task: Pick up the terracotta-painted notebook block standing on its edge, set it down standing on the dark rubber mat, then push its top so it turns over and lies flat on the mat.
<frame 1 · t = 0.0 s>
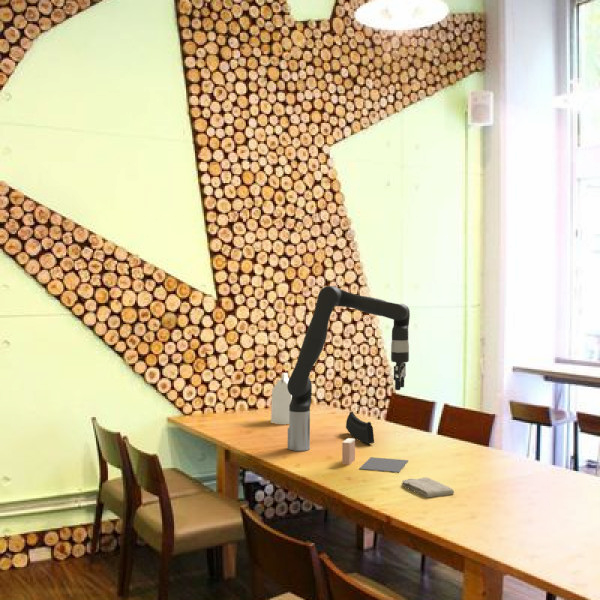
hand: (399, 388, 313), 29 cm above the table, tool pointing down, fingers open, 8 cm apart
notebook: (348, 462, 304), on the table
milk: (284, 422, 392), on the table
magazine: (359, 439, 350), on the table
washcloth: (426, 491, 264), on the table
mat: (384, 465, 299), on the table
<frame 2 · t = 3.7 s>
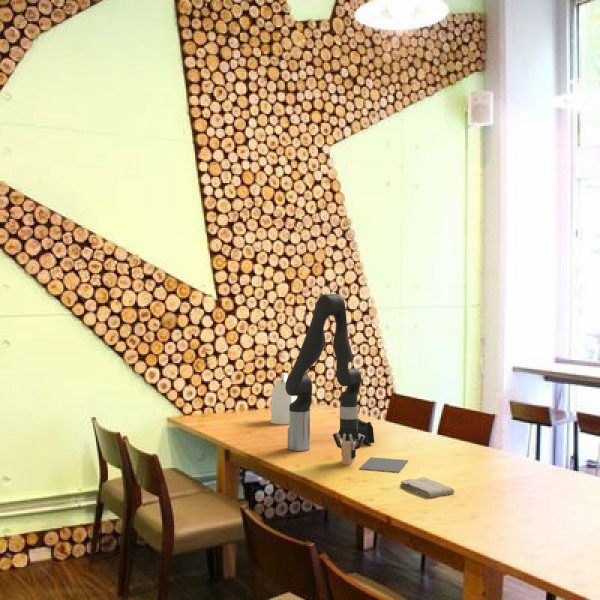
hand: (348, 458, 304), 2 cm above the table, tool pointing down, fingers closed on notebook, 3 cm apart
notebook: (348, 462, 304), on the table, touching gripper
everything else where it was.
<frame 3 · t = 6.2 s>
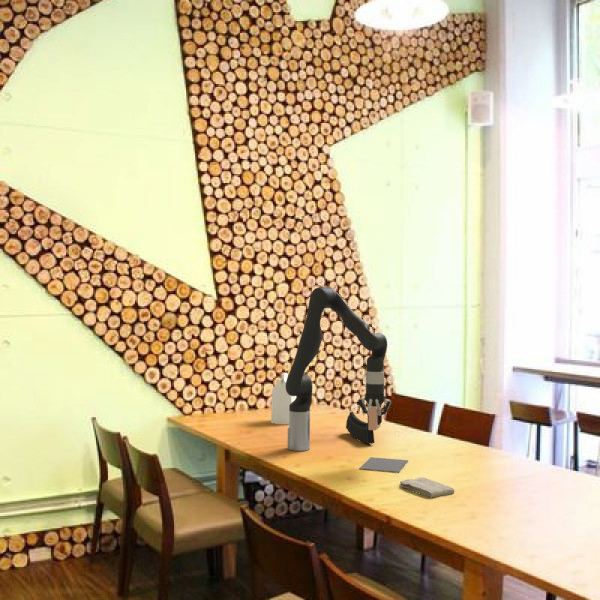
hand: (374, 424, 300), 17 cm above the table, tool pointing down, fingers closed on notebook, 3 cm apart
notebook: (374, 428, 300), point 15 cm above the table, touching gripper
everything else where it was.
when the fingers open (3 cm above the table, at t = 8.9 s): notebook stays where it is, resting on mat.
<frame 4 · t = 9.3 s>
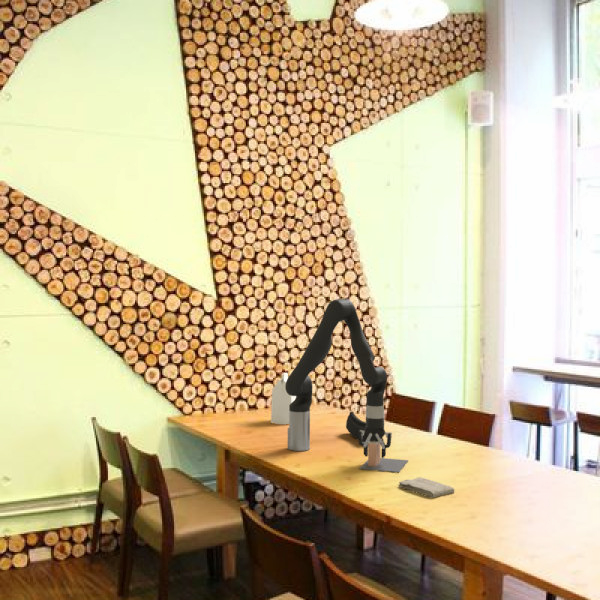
hand: (374, 456, 300), 3 cm above the table, tool pointing down, fingers open, 6 cm apart
notebook: (374, 463, 300), resting on mat
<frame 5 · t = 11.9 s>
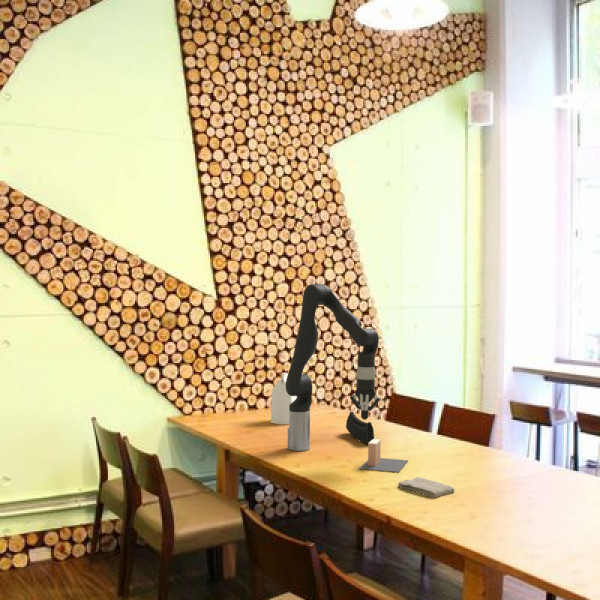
hand: (364, 419, 302), 18 cm above the table, tool pointing down, fingers closed
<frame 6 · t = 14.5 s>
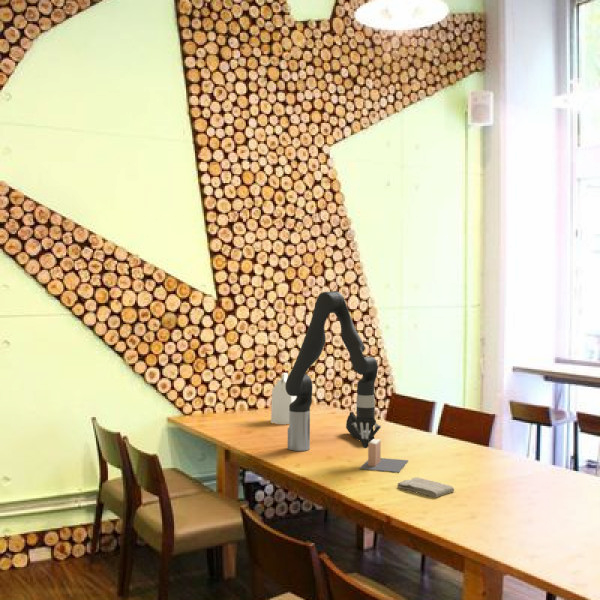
hand: (365, 447, 301), 7 cm above the table, tool pointing down, fingers closed
notebook: (374, 463, 300), resting on mat, touching gripper
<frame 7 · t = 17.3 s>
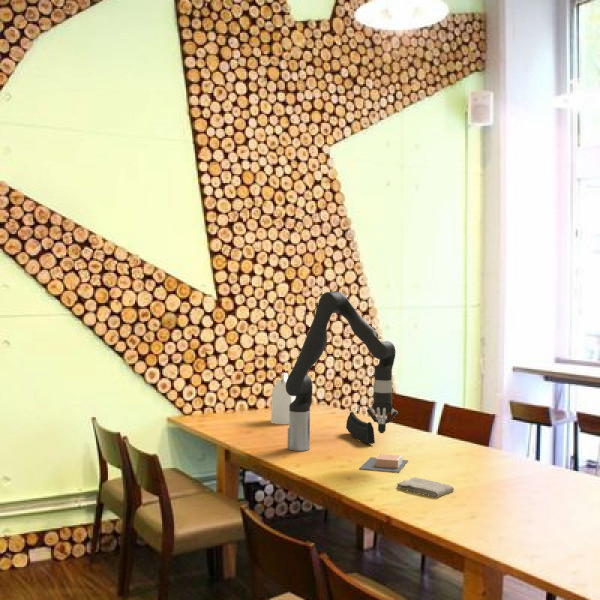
hand: (381, 432, 299), 13 cm above the table, tool pointing down, fingers closed
notebook: (378, 460, 300), point 2 cm above the table, tilted 90°, touching mat
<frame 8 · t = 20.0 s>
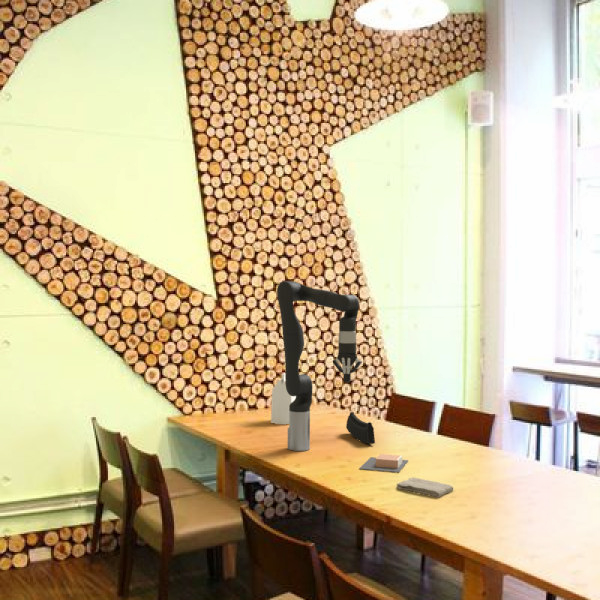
hand: (347, 382, 312), 32 cm above the table, tool pointing down, fingers closed
at the end: notebook tilted 90°; notebook inside the target area (4.5 cm from its centre), point 1.9 cm above the table; the gripper is holding nothing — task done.
